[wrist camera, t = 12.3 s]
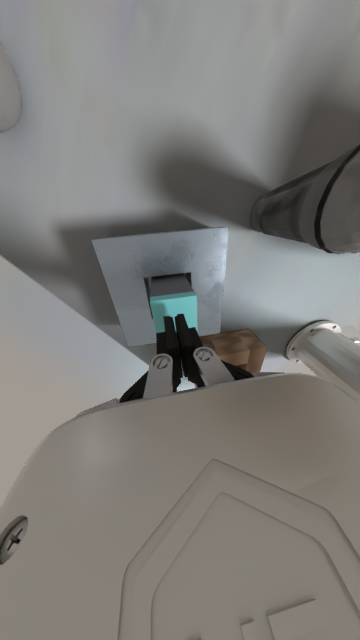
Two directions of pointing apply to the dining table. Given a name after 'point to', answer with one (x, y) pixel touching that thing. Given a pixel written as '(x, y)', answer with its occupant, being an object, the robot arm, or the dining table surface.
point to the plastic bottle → (8, 93)
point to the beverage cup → (316, 207)
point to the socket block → (163, 259)
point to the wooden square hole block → (237, 348)
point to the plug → (172, 300)
